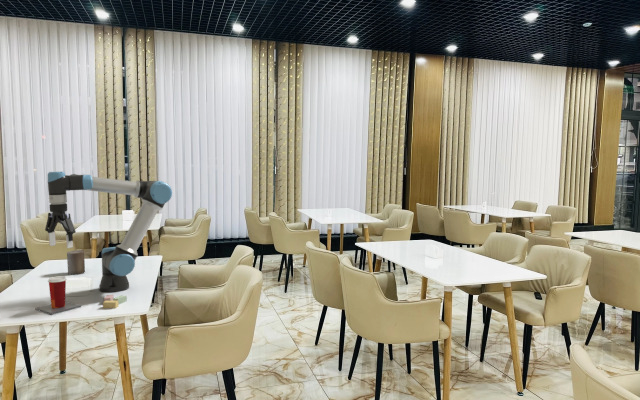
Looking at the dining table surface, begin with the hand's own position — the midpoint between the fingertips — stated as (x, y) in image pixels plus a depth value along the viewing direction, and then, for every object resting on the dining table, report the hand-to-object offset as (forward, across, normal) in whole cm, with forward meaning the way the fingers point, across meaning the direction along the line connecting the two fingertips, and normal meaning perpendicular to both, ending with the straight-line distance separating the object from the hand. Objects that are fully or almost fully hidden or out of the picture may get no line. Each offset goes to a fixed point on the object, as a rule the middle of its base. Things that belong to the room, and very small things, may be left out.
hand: (61, 246), depth 230 cm
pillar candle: (+29, -53, +43) cm, 74 cm away
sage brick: (+29, +24, +13) cm, 40 cm away
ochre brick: (+29, +26, +6) cm, 39 cm away
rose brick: (+29, +18, +11) cm, 36 cm away
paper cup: (+27, +6, -7) cm, 29 cm away
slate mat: (+28, +6, -7) cm, 29 cm away
